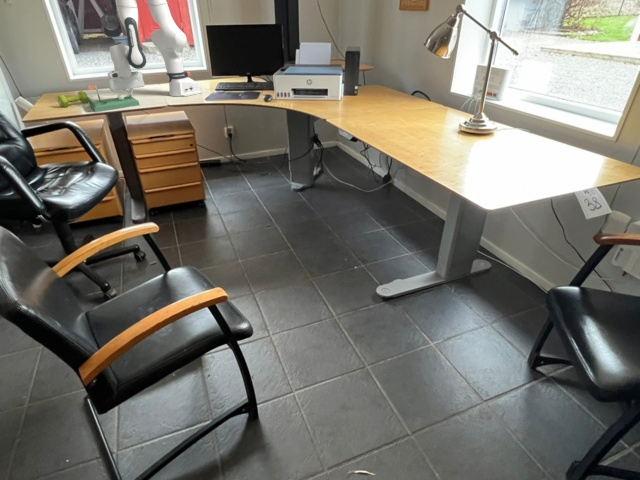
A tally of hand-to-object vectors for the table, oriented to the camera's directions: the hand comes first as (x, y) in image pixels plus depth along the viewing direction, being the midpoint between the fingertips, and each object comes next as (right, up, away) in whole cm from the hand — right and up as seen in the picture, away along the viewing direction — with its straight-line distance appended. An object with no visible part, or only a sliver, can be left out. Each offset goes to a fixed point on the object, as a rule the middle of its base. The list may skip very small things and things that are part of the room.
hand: (130, 96), depth 240 cm
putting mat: (-8, -7, -3) cm, 11 cm away
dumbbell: (-35, -5, +1) cm, 35 cm away
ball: (-4, -2, -3) cm, 5 cm away
